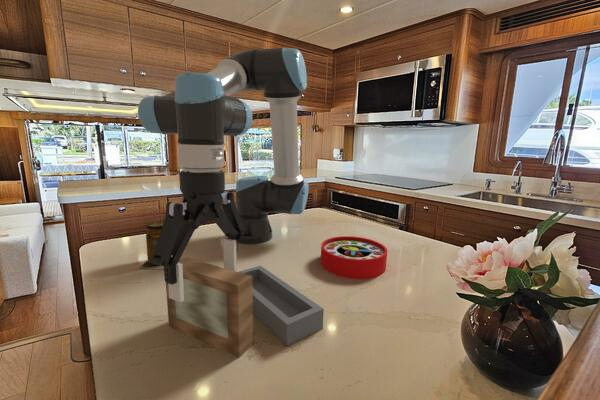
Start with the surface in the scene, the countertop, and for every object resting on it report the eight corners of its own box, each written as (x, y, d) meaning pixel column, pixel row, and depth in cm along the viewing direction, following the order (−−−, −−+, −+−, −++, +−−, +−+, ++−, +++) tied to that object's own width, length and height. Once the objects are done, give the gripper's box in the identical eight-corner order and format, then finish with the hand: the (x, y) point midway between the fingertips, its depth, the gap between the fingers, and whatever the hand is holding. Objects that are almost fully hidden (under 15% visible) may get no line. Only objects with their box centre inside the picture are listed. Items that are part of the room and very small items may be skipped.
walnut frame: (168, 327, 61) (163, 262, 58) (184, 316, 65) (181, 255, 62) (239, 358, 53) (237, 285, 51) (253, 344, 57) (252, 275, 54)
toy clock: (325, 233, 104) (385, 239, 100) (325, 249, 106) (384, 256, 102) (316, 255, 85) (389, 263, 81) (315, 274, 86) (387, 283, 82)
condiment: (175, 257, 95) (172, 221, 93) (164, 269, 87) (161, 229, 84) (151, 257, 95) (148, 220, 92) (138, 269, 87) (134, 229, 84)
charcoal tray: (229, 290, 76) (229, 274, 75) (260, 281, 81) (260, 265, 80) (287, 346, 57) (287, 324, 56) (322, 328, 62) (323, 308, 61)
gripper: (153, 178, 40) (163, 323, 44) (261, 166, 62) (260, 263, 66) (117, 174, 43) (130, 309, 47) (232, 163, 65) (233, 256, 69)
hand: (206, 283), depth 57 cm, fingers open, 13 cm apart
